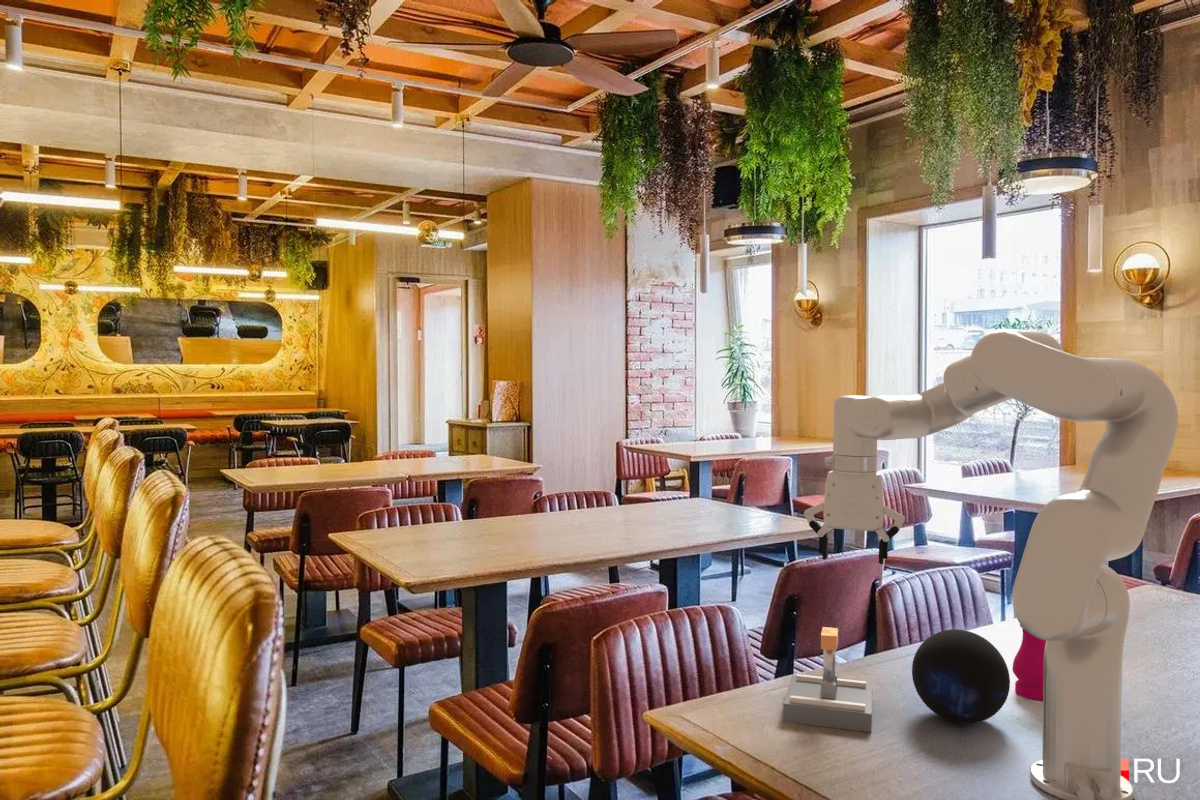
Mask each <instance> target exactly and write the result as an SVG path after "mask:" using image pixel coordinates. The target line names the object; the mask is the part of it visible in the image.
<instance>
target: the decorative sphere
mask: <svg viewBox="0 0 1200 800" xmlns="http://www.w3.org/2000/svg"><path fill="white" fill-rule="evenodd" d="M1007 665H1008V664H1007V663H1006V661H1005V659H1004V657H1003V655H1002V654H1001V652H1000V651H999V650H998V649H997V647H995V645H994V644H992V642H990V641H989V640H988V639H986V638H985V637H983V636H981V635H979V634H977V633H974V632H972V631H968V630H965V629H958V628H957V629H956V628H955V629H953V628H951V629H945V630H942V631H938V632H936V633H933V634H932V635H930V636H928V637H927V638H926V639H925V640H924V641H922V643H921V644H920V645H919V646H918V648H917V650H916V651H915V653H914V656H913V660H912V665H911V676H912V682H913V686H914V688H915V690H916V693H917V695H918V696H919V698H920V700H921V701H922V702H923V704H924V705H925V706H926V707H927V708H928V709H929V710H930V711H932V712H933V713H934V714H935V715H937V716H939V717H940V718H943V719H944V720H946V721H949V722H953V723H957V724H963V725H964V724H965V725H966V724H968V725H969V724H970V725H971V724H976V723H981V722H984V721H986V720H989V719H991V717H993V716H995V715H996V714H997V713H998V712H999V711H1000V710H1001V709H1002V708H1003V706H1004V704H1005V703H1006V701H1007V699H1008V696H1009V693H1010V687H1011V680H1010V679H1011V678H1010V673H1009V668H1008V666H1007Z"/></svg>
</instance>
